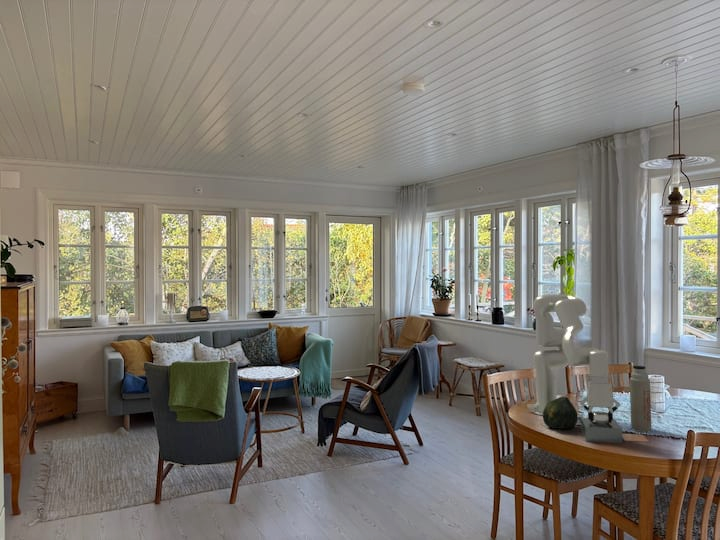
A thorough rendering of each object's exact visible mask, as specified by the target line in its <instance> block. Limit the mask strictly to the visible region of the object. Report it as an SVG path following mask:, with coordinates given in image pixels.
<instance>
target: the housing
mask: <svg viewBox="0 0 720 540" xmlns="http://www.w3.org/2000/svg"><path fill="white" fill-rule="evenodd" d="M611 421H612V423H610V422H609V424H608V425H594V423H592V422H590V420H589V419H588V417H580V432H582V433H581V435H582V437H583V439H584V440H585V442H592V443H609V444H610V443H611V444H623V438H622V434H623V428H622V427H621V425H620V424H619V423H618V421H617V420H616V419H614V418H613V420H611Z"/></svg>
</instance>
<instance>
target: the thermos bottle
mask: <svg viewBox="0 0 720 540" xmlns="http://www.w3.org/2000/svg"><path fill="white" fill-rule="evenodd" d="M632 370H633V371H632V372H631V373H630V376H631V377H630V378H629V399H630V400H629V402H630V403H629V404H630V428H632V429H631V430H633V429H634V430H633V431H635V430H637V431H636V432H640V431H644V432H643V433H646V432H647V431H649V432H651V431H652V411H651V408H652V405H651V401H652V400H651V380H650V378H649V374H648V373H647V371H646V366H643V365H633V366H632ZM647 433H648V432H647Z"/></svg>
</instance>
